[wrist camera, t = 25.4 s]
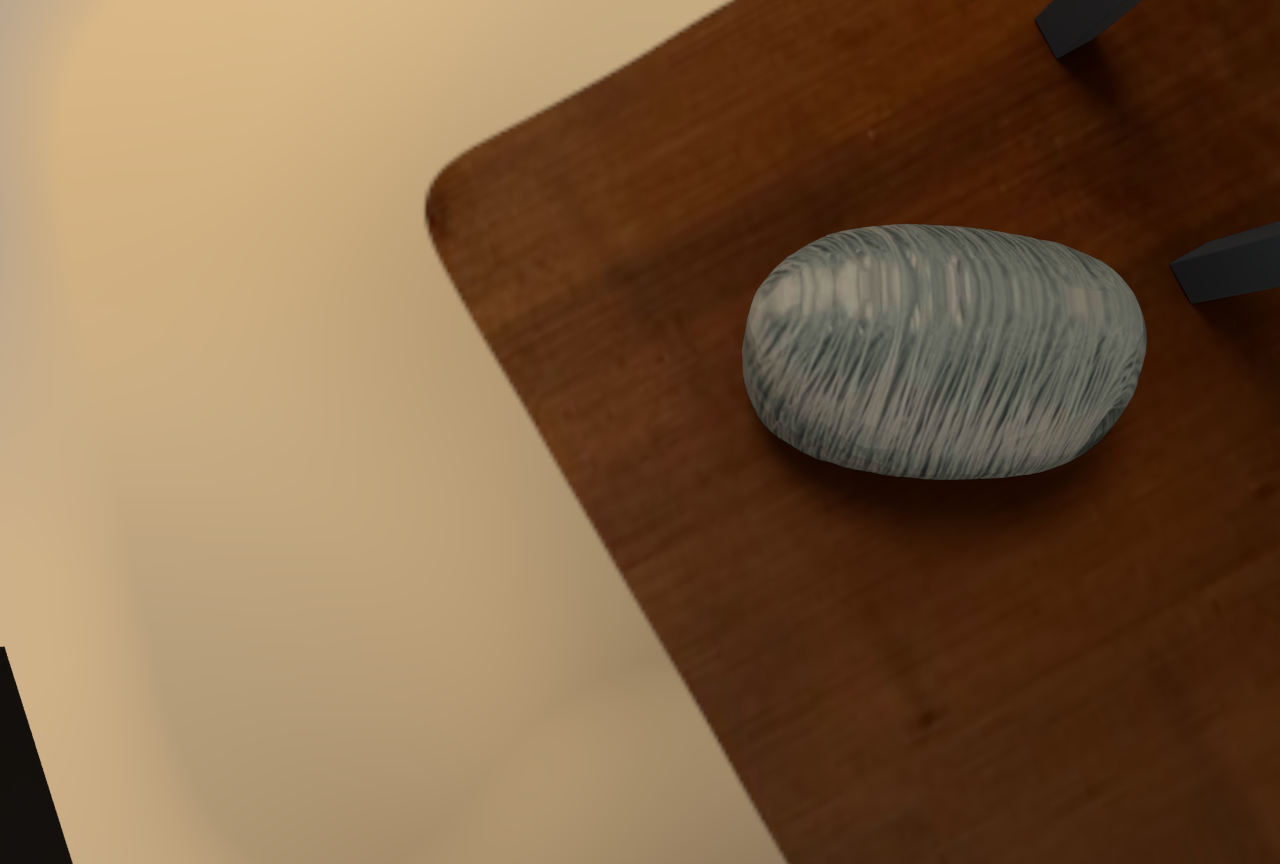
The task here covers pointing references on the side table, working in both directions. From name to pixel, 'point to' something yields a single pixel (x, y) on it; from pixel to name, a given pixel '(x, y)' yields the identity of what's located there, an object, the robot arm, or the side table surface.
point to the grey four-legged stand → (1219, 265)
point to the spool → (942, 351)
